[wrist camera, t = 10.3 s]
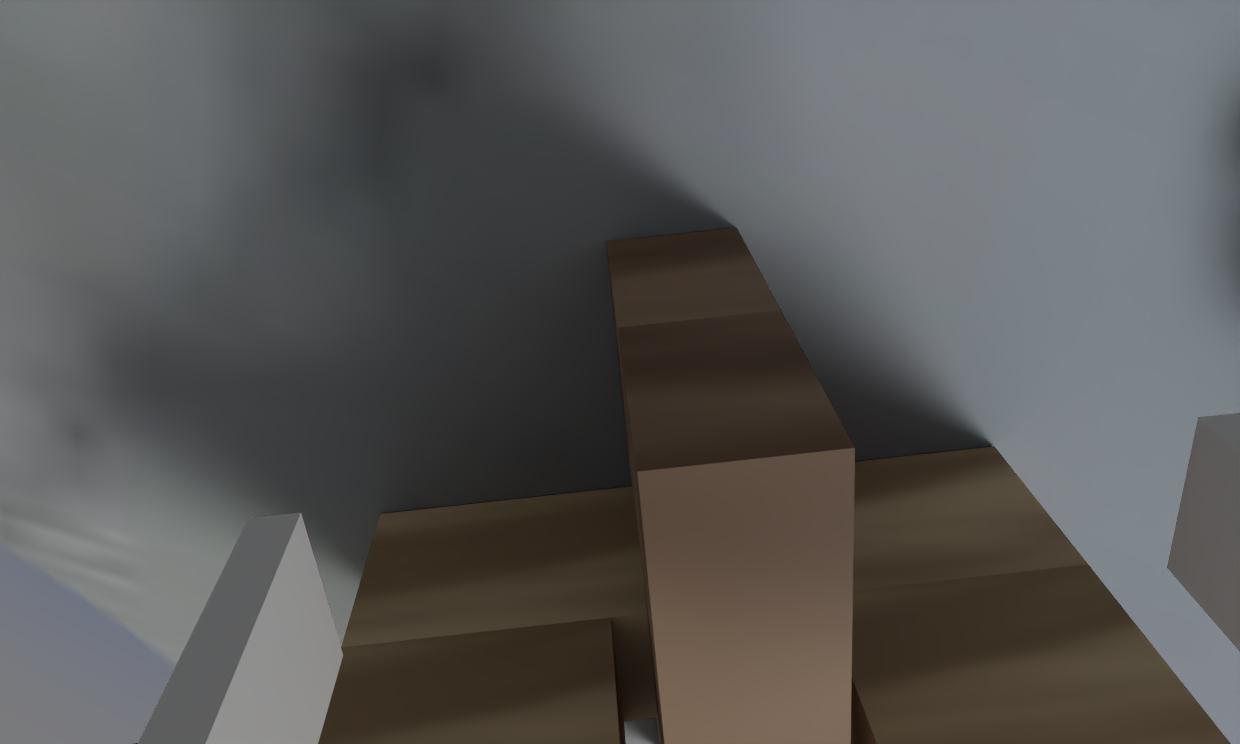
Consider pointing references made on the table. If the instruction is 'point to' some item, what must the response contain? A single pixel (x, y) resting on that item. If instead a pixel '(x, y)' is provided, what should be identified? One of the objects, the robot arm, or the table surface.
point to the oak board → (881, 625)
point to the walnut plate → (733, 498)
